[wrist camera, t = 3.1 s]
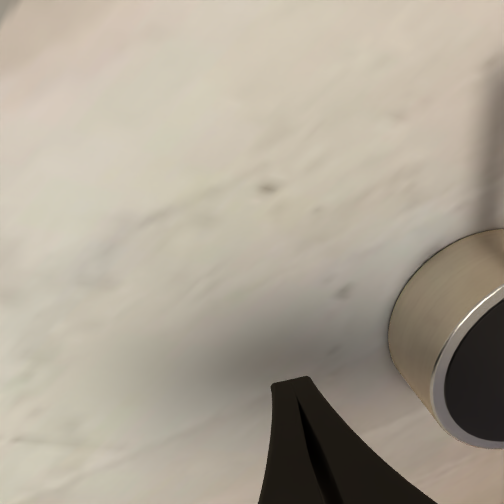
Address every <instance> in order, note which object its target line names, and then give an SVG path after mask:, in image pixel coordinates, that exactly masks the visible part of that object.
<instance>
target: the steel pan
mask: <svg viewBox="0 0 504 504" xmlns="http://www.w3.org/2000/svg"><path fill="white" fill-rule="evenodd" d="M388 343H389V351H390V354H391V358H392V360H393V362H394V365H395V367H396V368H397V370H398V371H399V372H400V374H401V375H402V376H403V378H404V379H405V380H406V382H407V383H408V384H409V386H410V387H411V388H412V390H413V391H414V392H415V394H416V395H417V396H418V398H419V399H420V400H421V402H422V403H423V404H424V405H425V407H426V408H427V409H428V411H429V412H430V413H431V415H432V416H433V417H434V419H435V420H436V421H437V423H438V424H439V425H440V427H441V428H442V429H443V430H444V431H445V432H446V433H447V434H449V435H450V436H452V437H453V438H455V439H456V440H458V441H460V442H462V443H465V444H467V445H470V446H474V447H478V448H485V449H504V229H496V230H489V231H484V232H481V233H477V234H473V235H471V236H468V237H466V238H463V239H461V240H459V241H457V242H455V243H453V244H451V245H449V246H448V247H446V248H445V249H443V250H441V251H440V252H438V253H437V254H436V255H434V256H433V257H432V258H431V259H430V260H428V261H427V262H426V263H425V264H424V265H423V266H422V267H421V268H420V269H419V270H418V271H417V272H416V273H415V274H414V276H413V277H412V278H411V279H410V280H409V282H408V283H407V284H406V286H405V288H404V289H403V291H402V292H401V294H400V296H399V298H398V300H397V302H396V304H395V306H394V309H393V312H392V315H391V318H390V323H389V330H388Z"/></svg>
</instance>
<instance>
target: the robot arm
mask: <svg viewBox="0 0 504 504" xmlns="http://www.w3.org/2000/svg"><path fill="white" fill-rule="evenodd" d="M270 387H271V392H272V425H271V436H270V444H269V451H268V458H267V464H266V470H265V475H264V480H263V485H262V489H261V494H260V498H259V502H258V504H437V503H436V502H435V501H433V500H432V499H431V498H429V497H428V496H427V495H425V494H424V493H423V492H421V491H420V490H419V489H417V488H416V487H415V486H413V485H412V484H411V483H410V482H408V481H407V480H406V479H405V478H404V477H402V476H401V475H400V474H399V473H398V472H396V471H395V470H394V469H393V468H392V467H390V466H389V465H388V464H387V463H386V462H385V461H384V460H383V459H381V458H380V457H379V456H378V455H377V454H376V453H375V452H374V451H373V450H372V449H371V448H370V447H369V446H368V445H367V444H366V443H365V442H364V441H363V440H362V439H361V438H360V437H359V436H358V435H357V434H356V433H355V432H354V431H353V430H352V429H351V428H350V427H349V426H348V425H347V424H346V423H345V421H344V420H343V419H342V418H341V417H340V416H339V415H338V414H337V412H336V411H335V410H334V409H333V408H332V407H331V405H330V404H329V403H328V402H327V400H326V399H325V398H324V397H323V395H322V394H321V393H320V391H319V390H318V389H317V387H316V386H315V384H314V383H313V381H312V380H311V378H310V377H308V376H304V377H299V378H295V379H290V380H285V381H281V382H276V383H273V384H272V385H271V386H270Z"/></svg>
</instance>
